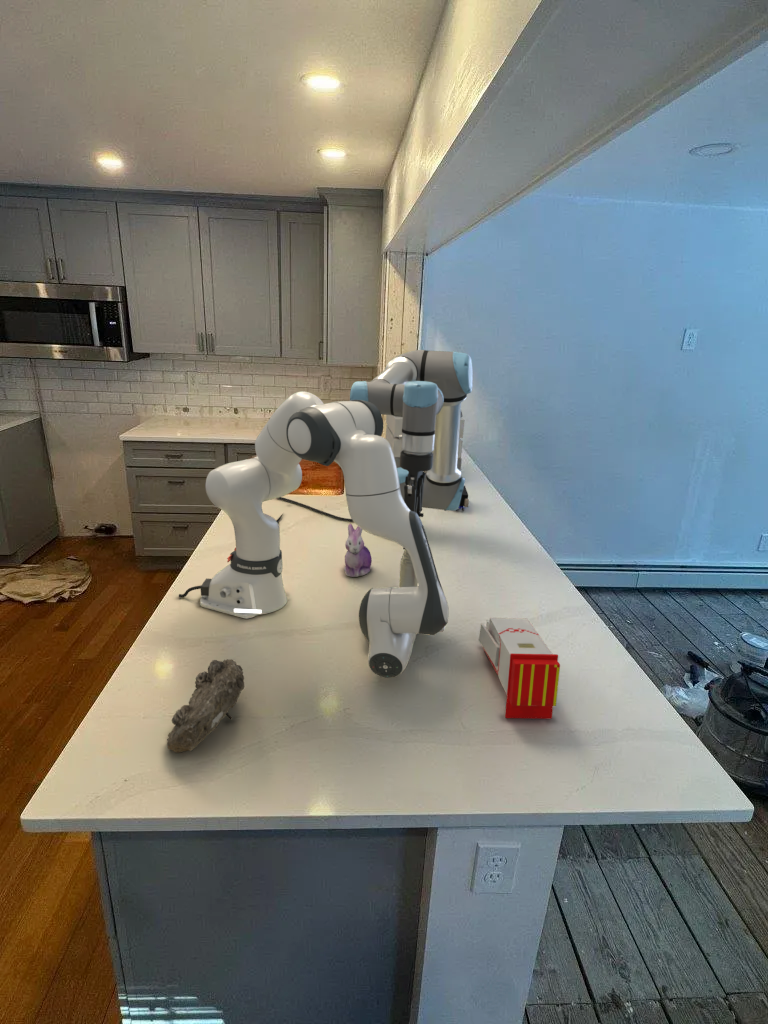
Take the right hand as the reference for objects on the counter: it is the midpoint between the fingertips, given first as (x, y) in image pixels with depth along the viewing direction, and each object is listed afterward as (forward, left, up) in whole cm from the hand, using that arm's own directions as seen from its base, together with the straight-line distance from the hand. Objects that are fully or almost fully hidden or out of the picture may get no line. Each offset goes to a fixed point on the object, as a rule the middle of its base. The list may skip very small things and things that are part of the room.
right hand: (410, 545), depth 137 cm
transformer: (-98, +99, -21) cm, 141 cm away
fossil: (+4, -54, -21) cm, 58 cm away
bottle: (0, 0, -21) cm, 21 cm away
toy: (+31, +3, -21) cm, 38 cm away
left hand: (-1, +1, -15) cm, 15 cm away
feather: (-82, +13, -21) cm, 86 cm away
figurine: (-30, +8, -21) cm, 38 cm away
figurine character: (-53, +78, -21) cm, 97 cm away
